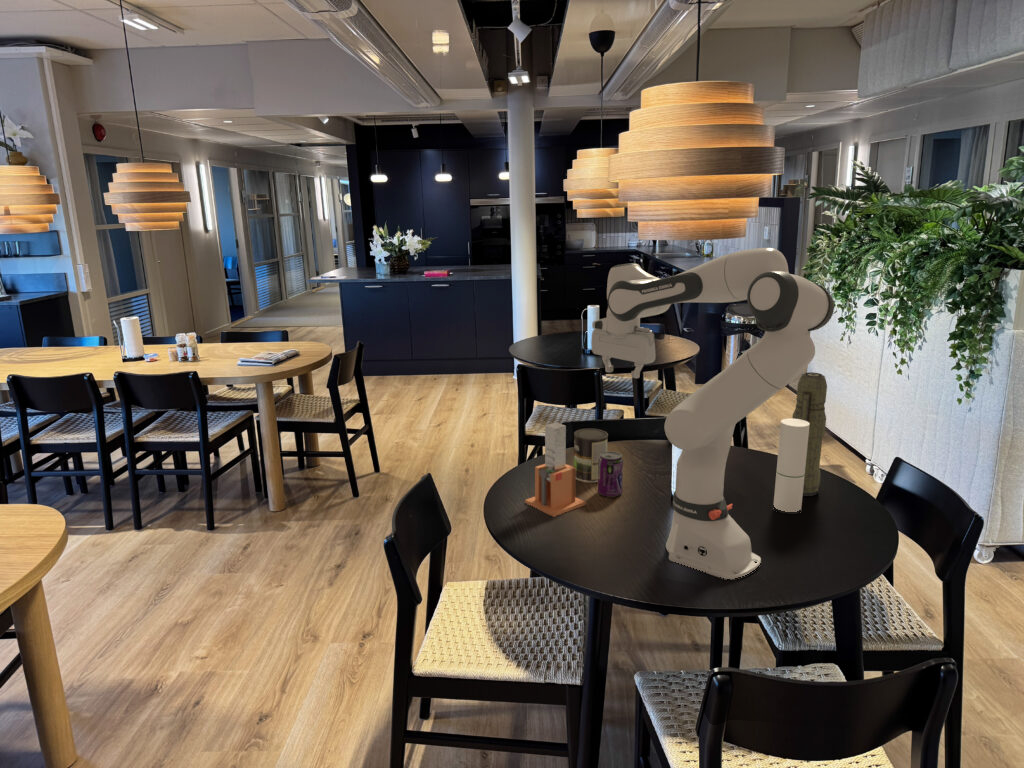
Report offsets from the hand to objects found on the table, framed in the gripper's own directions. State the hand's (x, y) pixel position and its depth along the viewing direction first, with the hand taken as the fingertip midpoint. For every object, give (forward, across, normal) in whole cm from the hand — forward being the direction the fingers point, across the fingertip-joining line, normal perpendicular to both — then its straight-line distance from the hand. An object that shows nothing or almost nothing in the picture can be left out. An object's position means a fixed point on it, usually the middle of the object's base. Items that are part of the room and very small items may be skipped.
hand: (622, 374), depth 193 cm
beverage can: (+37, +5, -1) cm, 37 cm away
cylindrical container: (+37, -34, -30) cm, 59 cm away
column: (+29, +10, +16) cm, 35 cm away
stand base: (+37, +10, +16) cm, 41 cm away
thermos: (+37, -30, -45) cm, 66 cm away
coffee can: (+37, +18, -6) cm, 42 cm away
